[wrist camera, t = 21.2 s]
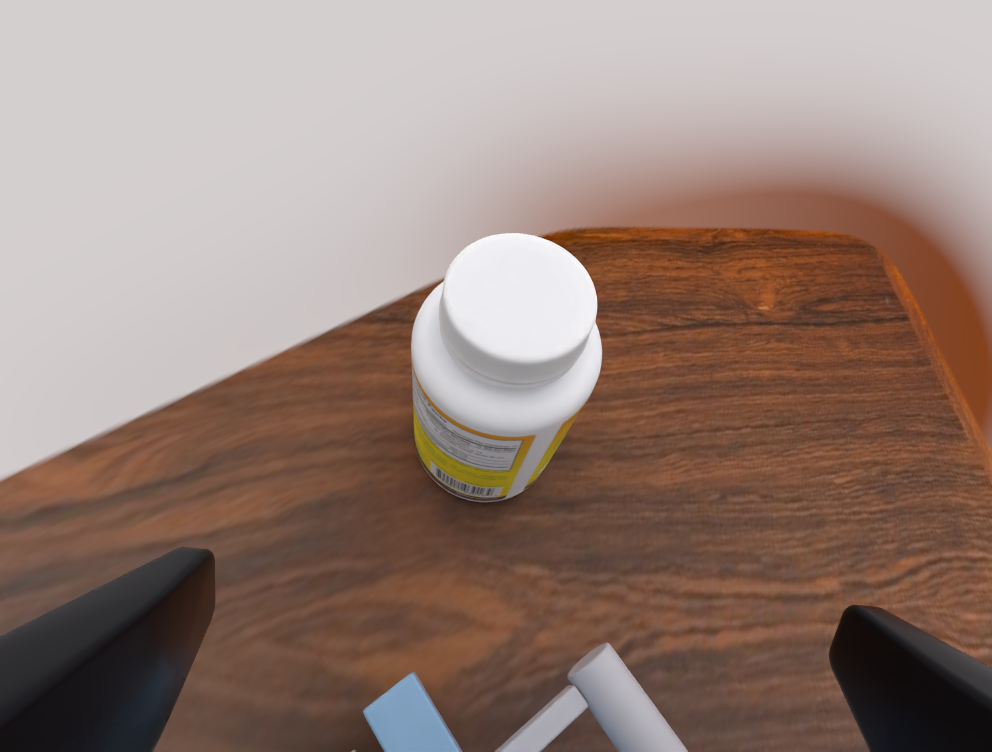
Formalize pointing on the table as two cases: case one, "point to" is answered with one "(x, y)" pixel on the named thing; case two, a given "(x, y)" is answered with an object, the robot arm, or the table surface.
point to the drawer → (595, 684)
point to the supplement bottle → (502, 364)
